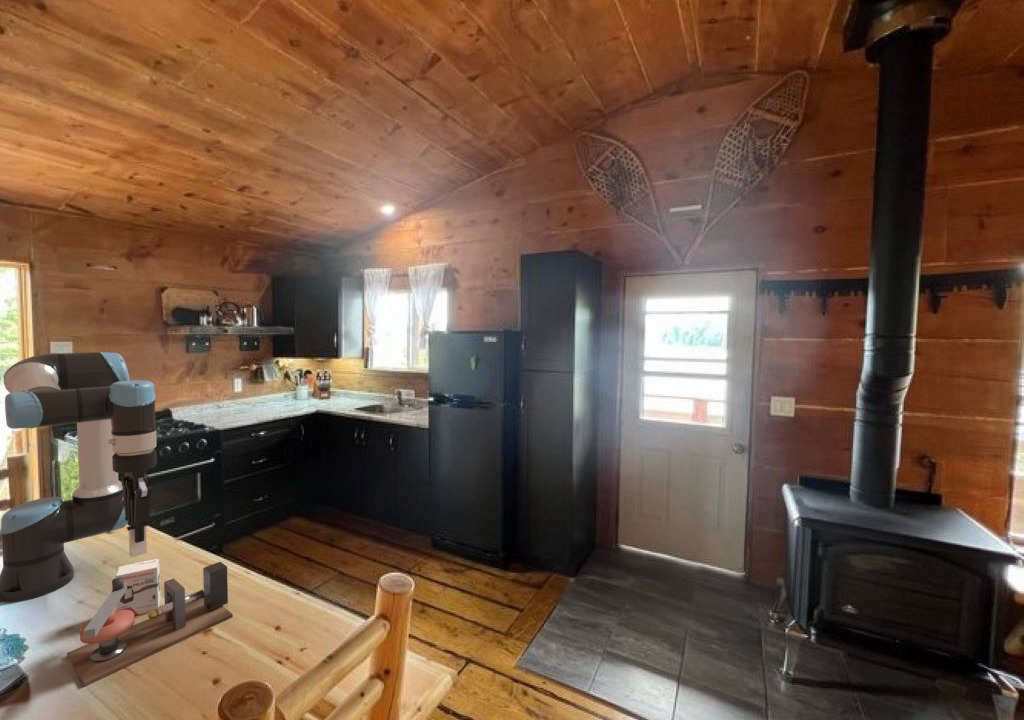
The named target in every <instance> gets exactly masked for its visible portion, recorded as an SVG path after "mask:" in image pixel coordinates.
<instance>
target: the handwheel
mask: <svg viewBox="0 0 1024 720" xmlns="http://www.w3.org/2000/svg"><path fill="white" fill-rule="evenodd" d="M111 584H112V587H111V589H112V590H111V592H110V594H108V596H107V598H106V599H105V600H104V602H103V603H102V604H101V605H100V607H99V608H98V609H97V611H96V613H95V614H94V616H93V617H92V618H91V619H90V620H88V621H87V622H85V623H84V624H83V625H82V626H81V627H80V629H79V640H80V642H81V643H83V644H86V645H87V644H93V643H100V642H104V641H107V640H110V639H113V638H115V637H118V636H120V635H121V634H123V633H125V632H126V631H128V630H129V629H130V628H131V627H132V626H133V625H135V616H134V613H133V612H132V611H130V610H117V611H116V605H117V604H118V602H119V601H120V599H121V598H122V596H123V595H124V593H125V592H126V590H127V582H124V580H123V577H118V578H115V577H114V579H112V581H111Z"/></svg>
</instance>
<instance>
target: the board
mask: <svg viewBox="0 0 1024 720" xmlns="http://www.w3.org/2000/svg"><path fill="white" fill-rule="evenodd" d="M233 616H234V614H233V612H231V611H230V610H228V609H227V608H226V607H225V605H223V606H220V607H218V608H216V609H214V610H209V609H208V608H207V607H206V606H205V605H204V598H201V599H199V600H197V601H194V602H192V603H189V604H187V605H185V620H186V627H184V628H182V629H180V630H178V631H175V630H174V629H173V620H172V621H170V622H167V621H166V620H165V614H163V615H160V616H158V617H156V618H155V619H150V618H148V619H147V618H146V619H145V620H142V621H140V622H137V623H134V624H133V626H132V627H131V628H130V629H129V630H128V631H126V632H125V633H123V634H121V635H120V636H118V641H125V642H126V644H127V647H126V650H125V651H124V652H123V653H122V654H120V655H119V656H117V657H115V658H113V659H111V660H108V661H104V662H98V663H97V662H92V661H91V659H90V656H91V653H92V652H93V651H94V650H95V649H97V648H98V647H99V643H93V644H87V643H86V644H84V645H83V646H80V647H78V648H75V649H73V650H70V651H68V652H66V657H67V659H68V661H69V662H70V663H71V666H72V668H73V669H74V671H75V673H76V675H77V676H78V678H79V680H80V682H81V683H82V685H83V687H86V686H89V685H91V684H94V683H95V682H97V681H100V680H102V679H104V678H106V677H108V676H110V675H113V674H115V673H116V672H118V671H121V670H123V669H125V668H127V667H129V666H131V665H134V664H136V663H138V662H140V661H142V660H144V659H146V658H148V657H151V656H153V655H155V654H157V653H159V652H161V651H163V650H166V649H167V648H170V647H172V646H174V645H176V644H178V643H180V642H182V641H185V640H187V639H189V638H190V637H191V638H192V637H193V636H196V635H197V634H200V633H201V631H202V632H204V631H206V630H208V629H210V628H212V627H214V626H217V625H219V624H221V623H223V622H225V621H227V620H229V619H231V618H233ZM114 672H115V673H114Z"/></svg>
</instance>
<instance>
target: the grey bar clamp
mask: <svg viewBox="0 0 1024 720" xmlns="http://www.w3.org/2000/svg"><path fill="white" fill-rule="evenodd" d="M202 572H203V589H200V590H198V591H195V592H192V593H190V594H187V595H185V605H187V604H189V603H192V602H194V601H197V600H199V599H201V598H204V605H205V606H206V607H207V608H208V609H209V610H214V609H216V608H218V607H220V606H225V605H227V604H229V594H228V593H229V591H228V589H229V587H228V586H229V585H228V566H227V564H224V563H223V562H222V561H218V562H215V563H212V564H210V565H208V566H204V567H203V570H202ZM170 611H173V601H172V602H170V603H167V604H165V603H164V604H163V605H159V607H158V608H154V609H152V610H150V611H149V612H147V617H148V619H155V618H156V617H158V616H160V615H163V614H165V613H168V612H170Z"/></svg>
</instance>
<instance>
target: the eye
mask: <svg viewBox="0 0 1024 720" xmlns="http://www.w3.org/2000/svg"><path fill="white" fill-rule="evenodd" d="M163 591H164V595H163V596H164V605H165V604H167V603H170V602H172V601H173V611H170V612H168V613H165V620H166V621H167V622H170V621H172V620H173V629H174V630H175V631H178V630H180V629H182V628H184V627H186V620H185V596H186V589H185V587H184V586H183V585H182V584H181V583H179V582H178V581H177V580H176V579H175V578H171V579H167V580H166V581H164V582H163Z"/></svg>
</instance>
